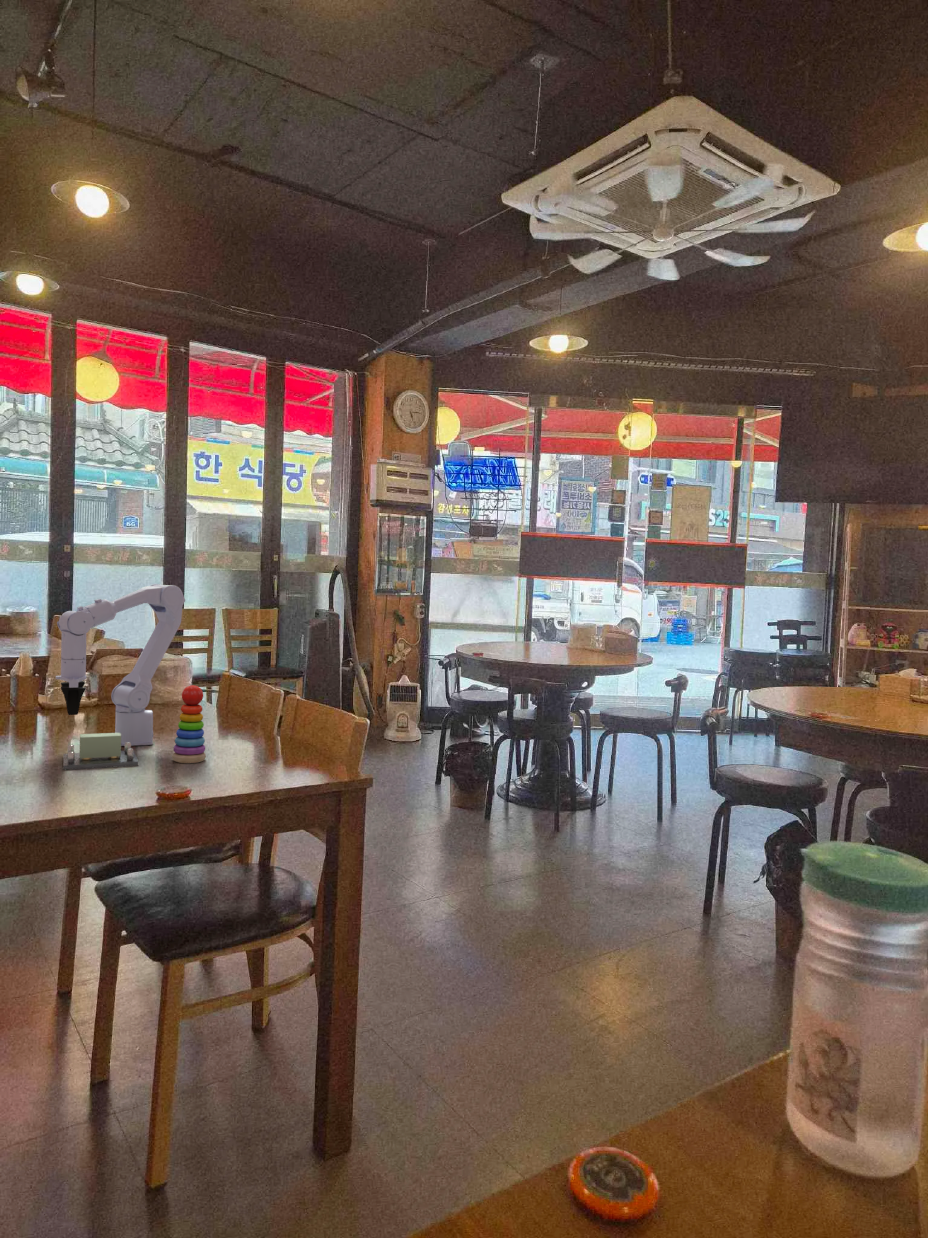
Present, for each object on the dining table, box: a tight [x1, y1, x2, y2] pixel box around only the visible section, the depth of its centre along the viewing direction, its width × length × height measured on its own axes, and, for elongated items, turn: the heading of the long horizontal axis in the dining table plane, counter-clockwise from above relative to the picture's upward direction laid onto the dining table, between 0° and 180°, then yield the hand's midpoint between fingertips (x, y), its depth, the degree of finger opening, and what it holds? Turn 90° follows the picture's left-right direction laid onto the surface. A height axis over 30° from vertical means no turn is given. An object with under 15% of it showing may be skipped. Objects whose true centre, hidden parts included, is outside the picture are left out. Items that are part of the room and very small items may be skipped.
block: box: [78, 732, 122, 758], centre depth 199 cm, size 9×4×5 cm, turn 116°
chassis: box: [62, 742, 139, 771], centre depth 199 cm, size 16×13×4 cm
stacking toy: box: [171, 684, 207, 764], centre depth 204 cm, size 8×8×19 cm
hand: (72, 712), depth 208 cm, fingers open, 7 cm apart
